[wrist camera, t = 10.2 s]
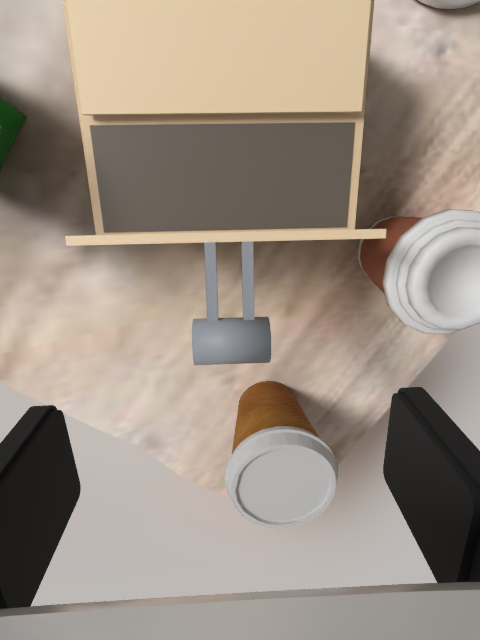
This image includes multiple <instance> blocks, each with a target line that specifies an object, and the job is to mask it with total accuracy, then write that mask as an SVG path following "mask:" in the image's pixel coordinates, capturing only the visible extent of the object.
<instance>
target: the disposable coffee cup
mask: <svg viewBox="0 0 480 640" xmlns="http://www.w3.org/2000/svg"><path fill="white" fill-rule="evenodd" d="M337 477H338V466H337V462H336V458H335V456H334V454H333V452H332V451H331V449H330V448H329V446H328V445H327V444H326V443H324V442H323V441H322V440H321V439H320V438H319V437H318V435H317V434H316V432H315V430H314V429H313V427H312V426H311V424H310V422H309V420H308V419H307V417H306V416H305V414H304V412H303V410H302V409H301V407H300V406H299V404H298V402H297V400H296V399H295V397H294V395H293V393H292V392H291V391H290V390H289V389H288V388H287V387H286V386H284V385H282V384H280V383H277V382H272V381H266V382H260V383H257V384H255V385H253V386H251V387H250V388H248V389H247V390H246V391H245V392H244V393H243V395H242V396H241V398H240V401H239V406H238V415H237V422H236V428H235V435H234V443H233V450H232V455H231V457H230V458H229V461H228V464H227V467H226V469H225V486H226V490H227V493H228V494H229V496H230V498H231V500H232V501H233V502H234V504H235V507H236V508H237V509H238V511H239V512H240V513H241V514H242V516H244V517H245V518H247V519H248V520H250V521H252V522H253V523H255V524H258V525H261V526H265V527H269V528H290V527H293V526H297V525H300V524H304V523H307V522H308V521H310V520H312V519H314V518H316V517H317V516H318V515H320V514H321V513H322V512H323V511H324V510H325V509H326V508H327V506H328V505H329V504H330V502H331V500H332V498H333V496H334V494H335V489H336V481H337Z"/></svg>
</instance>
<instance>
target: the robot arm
mask: <svg viewBox="0 0 480 640" xmlns="http://www.w3.org/2000/svg"><path fill="white" fill-rule="evenodd" d="M418 1H420V2H421V3H424V4H427V5H429V6H432V7H434V8H442V9H457V8H465V7H468V6H471V5H473V4H476V3H479V2H480V0H418ZM383 473H384V477H385V480H386V483H387V485H388V487H389V489H390V491H391V493H392V495H393V497H394V498H395V501H396V502H397V504H398V506H399V508H400V510H401V512H402V514H403V516H404V518H405V520H406V522H407V524H408V526H409V528H410V529H411V532H412V534H413V536H414V538H415V540H416V542H417V544H418V546H419V547H420V549H421V551H422V553H423V555H424V557H425V559H426V561H427V563H428V565H429V567H430V569H431V570H432V573H433V575H434V577H435V579H436V581H437V583H425V584H398V585H379V586H360V587H342V588H323V589H303V590H286V591H268V592H250V593H235V594H216V595H199V596H183V597H166V598H151V599H135V600H121V601H120V600H119V601H104V602H88V603H73V604H58V605H45V606H33V607H30V606H31V603H32V601H33V599H34V597H35V595H36V592H37V590H38V588H39V585H40V583H41V581H42V579H43V577H44V574H45V572H46V570H47V568H48V566H49V563H50V561H51V559H52V557H53V554H54V552H55V550H56V548H57V546H58V543H59V541H60V539H61V537H62V534H63V532H64V530H65V528H66V525H67V523H68V521H69V519H70V516H71V514H72V512H73V510H74V507H75V505H76V503H77V501H78V498H79V495H80V481H79V477H78V473H77V469H76V464H75V460H74V456H73V452H72V448H71V444H70V440H69V435H68V431H67V427H66V423H65V419H64V415H63V412H62V411H61V410H57V408H56V407H55V406H53V405H49V406H33V407H30V408H29V410H28V411H27V412H26V413H25V414H24V415H23V417H22V418H21V419H20V420H19V421H18V423H17V424H16V425H15V426H14V428H13V429H12V430H11V431H10V432H9V434H8V435H7V436H6V437H5V438H4V440H3V441H2V442H1V443H0V640H480V451H479V450H478V449H477V448H476V446H475V445H474V444H473V443H472V442H471V441H470V440H469V439H468V438H467V436H466V435H465V434H464V433H463V432H462V431H461V430H460V429H459V427H458V426H457V425H456V424H455V423H454V422H453V421H452V420H451V418H449V416H448V415H447V414H446V413H445V412H444V411H443V410H442V408H441V407H440V406H439V405H438V404H437V403H436V402H435V401H434V400H433V399H432V398H431V396H430V395H429V394H428V393H427V392H426V391H425V390H424V389H423V388H422V387H411V388H400V389H399V391H398V393H395V394H393V396H392V401H391V409H390V418H389V426H388V434H387V442H386V450H385V458H384V466H383Z"/></svg>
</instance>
